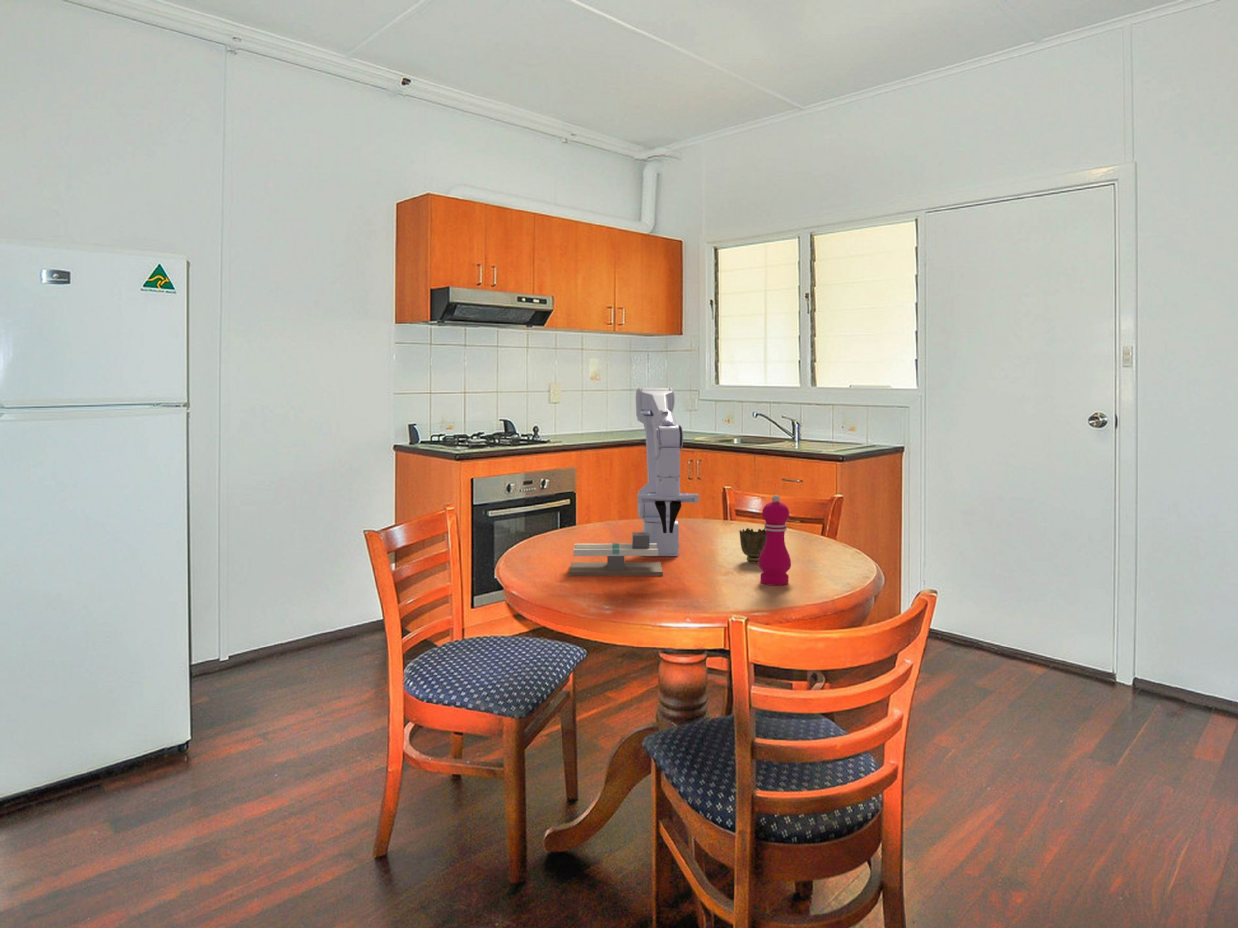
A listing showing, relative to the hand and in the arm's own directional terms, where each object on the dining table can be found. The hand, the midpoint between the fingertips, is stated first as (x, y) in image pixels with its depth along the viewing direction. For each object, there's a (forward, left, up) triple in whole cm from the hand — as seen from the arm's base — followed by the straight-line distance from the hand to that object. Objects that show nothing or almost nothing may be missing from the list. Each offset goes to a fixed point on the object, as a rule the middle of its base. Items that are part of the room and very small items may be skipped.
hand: (667, 532), depth 188 cm
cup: (-22, -9, -10) cm, 26 cm away
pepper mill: (-23, +11, -10) cm, 28 cm away
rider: (+7, 0, -4) cm, 8 cm away
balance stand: (+13, 0, -9) cm, 16 cm away
